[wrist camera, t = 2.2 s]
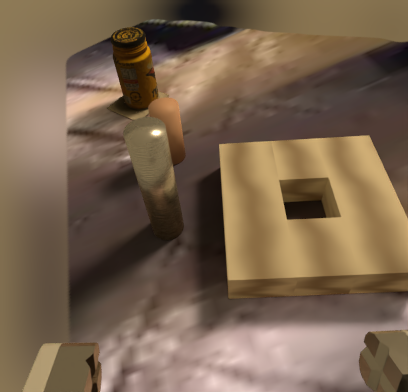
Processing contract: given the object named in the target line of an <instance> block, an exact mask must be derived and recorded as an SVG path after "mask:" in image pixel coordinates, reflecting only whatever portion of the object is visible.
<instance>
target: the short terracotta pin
mask: <svg viewBox="0 0 408 392" xmlns="http://www.w3.org/2000/svg"><path fill="white" fill-rule="evenodd" d="M148 110H149V114H150V117H154V118H158V119H160V120H161V121H163V122H164V124H165V126H166V132H167V137H168V142H169V148H170V153H171V158H172V164H173V165H176V164H178V163H180V162H182V161H183V160H184V158H185V148H184V141H183V133H182V126H181V119H180V112H179V105H178V102H177V101H176V100H174V99H172V98H167V97H164V98H159V99H156V100H154V101H152V102H151V103H150V105H149V107H148Z"/></svg>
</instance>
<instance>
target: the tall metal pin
mask: <svg viewBox="0 0 408 392" xmlns="http://www.w3.org/2000/svg"><path fill="white" fill-rule="evenodd" d="M123 135H124V138H125V142H126V145H127V148H128V151H129V155H130V158H131V161H132V164H133V168H134V171H135V174H136V177H137V181H138V184H139V187H140V190H141V193H142V197H143V200H144V203H145V206H146V210H147V213H148V216H149V219H150V223H151V226H152V229H153V232H154V234H155V236H156V237H158V238H160V239H162V240H171V239H174V238H176V237H178V236H179V235H180V234H181V233H182V231H183V228H184V223H183V218H182V212H181V207H180V201H179V196H178V191H177V185H176V180H175V175H174V169H173V164H172V158H171V153H170V148H169V142H168V137H167V132H166V126H165V124H164V122H163V121H161V120H160V119H158V118H154V117H142V118H138V119H135V120H133V121H132V122H130V123H129V124H128V125H127V126H126V127H125V129H124V132H123Z"/></svg>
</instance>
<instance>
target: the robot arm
mask: <svg viewBox="0 0 408 392" xmlns="http://www.w3.org/2000/svg"><path fill="white" fill-rule="evenodd" d="M364 343H365V344H366V346H367V347H366V348H365V349H364V350H363V351H362V352H361V353H360V358H359V367H360V372H361V375H362V378H363V379H364V381H365V383H366V385H367V386H369V387H370V388H371V389H373V390H374V391H375V392H408V330H400V331H398V330H396V331H376V332H368V333H367V334H366V336H365V339H364ZM99 353H100V350H99V344H98V343H48V344H43V346H42V347H41V348H40V350H39V352H38V355H37V357H36V359H35V362H34V364H33V366H32V369H31V371H30V374H29V376H28V378H27V381H26V383H25V385H24V388H23V390H22V392H100V390H101V379H102V369H101V363H100V362H99V361H98V358H99Z"/></svg>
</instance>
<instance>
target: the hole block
mask: <svg viewBox="0 0 408 392" xmlns="http://www.w3.org/2000/svg"><path fill="white" fill-rule="evenodd" d="M219 150H220V172H221V188H222V204H223V220H224V236H225V252H226V267H227V283H228V299H237V298H261V297H284V296H308V295H332V294H356V293H380V292H404V291H408V219H407V216H406V214H405V212H404V210H403V208H402V206H401V203H400V201H399V199H398V197H397V195H396V193H395V190H394V188H393V186H392V184H391V182H390V180H389V177H388V175H387V173H386V171H385V169H384V167H383V164H382V162H381V160H380V158H379V156H378V154H377V151H376V149H375V147H374V145H373V143H372V141H371V139H370V136H353V137H335V138H318V139H301V140H284V141H267V142H250V143H232V144H219ZM317 200H322V204H323V207H324V211H325V214H326V218H315V219H295V220H287V218H286V213H285V208H284V203H283V202H298V201H317Z"/></svg>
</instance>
